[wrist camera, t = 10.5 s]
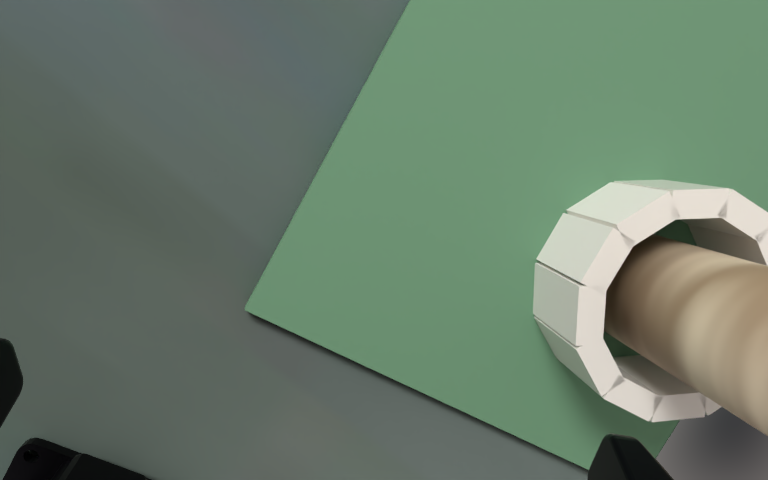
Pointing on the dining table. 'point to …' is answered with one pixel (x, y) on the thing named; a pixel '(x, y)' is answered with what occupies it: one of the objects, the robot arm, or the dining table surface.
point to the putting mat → (510, 190)
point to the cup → (602, 262)
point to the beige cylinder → (697, 320)
